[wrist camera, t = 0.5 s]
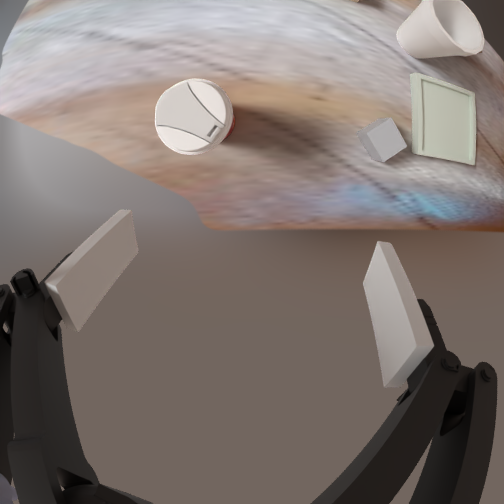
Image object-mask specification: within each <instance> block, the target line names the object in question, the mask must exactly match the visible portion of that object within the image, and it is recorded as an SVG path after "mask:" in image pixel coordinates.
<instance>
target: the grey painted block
mask: <svg viewBox="0 0 504 504" xmlns="http://www.w3.org/2000/svg"><path fill="white" fill-rule="evenodd" d="M356 134H357V136H358V137H359V139H360V141H361V142H362V144H363V146H364V147H365V149H366V151H367V152H368V154H369V156H370V157H371V159H373V160H377V161H380V162H385V161H386V160H388V159H389V158H391V157H392V156H394V155H395V154H397V153H398V152H400V151H401V150H403V149H404V148H406V147H407V145H406V143H405V141H404V139H403V138H402V136H401V134H400V132H399V130H398V128H397V127H396V125H395V123H394V121H393V120H392V118H381V119H377V120H376V121H374V122H373V123H371V124H369V125H368V126H366V127H365V128H363V129H361V130H360V131H358V132H357V133H356Z"/></svg>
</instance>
